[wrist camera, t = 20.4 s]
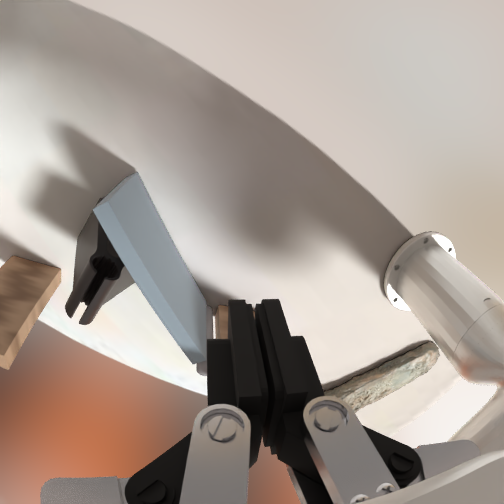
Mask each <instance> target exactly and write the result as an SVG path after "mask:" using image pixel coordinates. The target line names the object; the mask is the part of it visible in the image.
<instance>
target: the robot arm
mask: <svg viewBox="0 0 504 504" xmlns="http://www.w3.org/2000/svg"><path fill="white" fill-rule="evenodd" d="M384 290H385V294H386V296H387V298H388V300H389V301H390V302H391V304H392V305H394V306H395V307H396V308H398V309H400V310H411V311H412V313H413V314H414V315H415V316H416V318H417V319H418V320H419V321H420V323H421V324H422V325H423V327H424V328H425V329H426V330H427V332H428V333H429V334H430V336H431V337H432V338H433V340H434V341H435V342H436V344H437V345H438V346H439V348H440V349H441V350H442V352H443V353H444V354H445V356H446V357H447V358H448V360H449V361H450V363H451V364H452V365H453V367H454V368H455V369H456V371H457V372H458V374H459V375H460V376H461V377H462V378H463V379H465V380H466V381H468V382H470V383H473V384H478V385H496V386H497V391H496V393H495V394H494V395H493V396H492V398H491V399H490V400H489V401H488V403H487V404H486V405H485V406H484V407H483V408H482V409H481V410H480V411H479V412H478V413H477V414H475V415H474V417H472V418H471V419H470V420H469V421H468V422H467V423H466V424H465V425H464V426H463V427H462V428H461V429H459V430H458V431H457V432H456V433H455V434H454V435H453V436H452V437H451V438H450V439H449V440H448V441H447V442H444V443H437V444H429V445H421V446H418V447H417V448H415V449H412V448H411V447H409V446H407V445H405V444H402V443H400V442H398V441H396V440H393V439H391V438H389V437H387V436H384V435H382V434H380V433H378V432H376V431H373V430H371V429H369V428H367V427H365V426H363V425H361V423H360V421H359V420H358V418H357V416H356V415H355V413H354V411H353V410H352V408H351V407H350V406H349V405H348V403H346V402H345V401H343V400H342V399H339V398H336V397H332V396H325V395H324V392H323V389H322V386H321V383H320V380H319V378H318V375H317V372H316V369H315V366H314V364H313V361H312V358H311V355H310V353H309V350H308V347H307V344H306V342H305V339H304V337H303V336H291V335H290V332H289V329H288V326H287V323H286V319H285V316H284V313H283V310H282V307H281V304H280V301H279V299H263V300H262V302H261V304H256V307H255V318H254V314H253V309H252V304H246V302H245V300H229V301H228V339H207V390H208V407H206V408H205V409H203V410H202V411H201V412H200V413H199V414H198V415H197V416H196V419H195V421H194V425H193V431H192V432H191V433H190V434H188V435H187V436H186V437H184V438H183V439H182V440H181V441H179V442H178V443H177V444H175V445H174V446H173V447H171V448H170V449H169V450H167V451H166V452H165V453H163V454H162V455H161V456H159V457H158V458H157V459H155V460H154V461H153V462H151V463H150V464H148V465H147V466H145V467H144V468H143V469H141V470H140V471H138V472H137V473H135V474H134V475H133V476H132V477H131V478H119V479H118V477H117V476H115V477H97V478H96V477H95V478H53V479H50V480H48V481H47V482H45V484H44V485H43V487H42V488H41V495H40V497H41V504H247V494H248V493H247V492H248V473H249V472H248V471H249V468H250V467H251V466H252V465H253V464H254V463H255V462H256V461H257V458H258V453H259V448H260V443H261V439H262V437H263V442H264V446H265V447H268V446H270V449H271V454H272V455H273V454H277V456H278V459H279V460H280V461H282V462H284V463H285V464H286V467H287V471H288V473H289V476H290V478H291V481H292V483H293V485H294V488H295V490H296V493H297V495H298V497H299V500H300V502H301V504H504V301H503V300H502V299H501V298H500V297H499V296H498V295H497V294H496V293H495V292H493V291H492V290H491V289H490V288H489V287H488V286H487V285H486V284H485V283H483V282H482V281H481V280H480V279H479V278H478V277H477V276H476V275H475V274H473V273H472V272H471V271H470V270H469V269H468V268H466V267H465V266H464V265H463V264H462V263H460V262H459V261H458V260H457V259H456V258H455V250H454V247H453V245H452V243H451V241H450V240H449V239H448V238H447V237H445V236H444V235H442V234H440V233H438V232H431V231H430V232H424V233H421V234H418V235H416V236H414V237H413V238H411V239H409V240H408V241H407V242H406V243H404V244H403V245H402V246H401V247H400V249H399V250H398V251H397V252H396V254H395V255H394V256H393V258H392V260H391V261H390V263H389V265H388V268H387V271H386V274H385V279H384Z"/></svg>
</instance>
